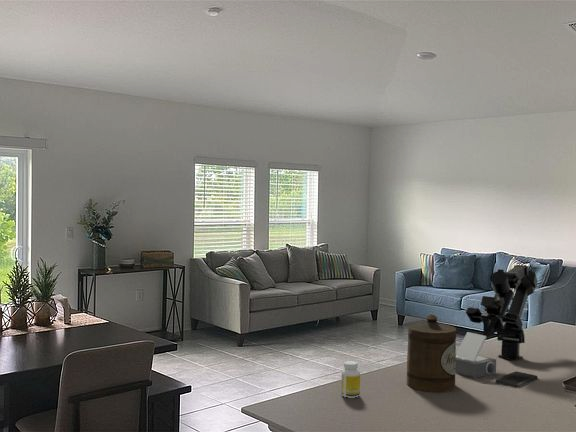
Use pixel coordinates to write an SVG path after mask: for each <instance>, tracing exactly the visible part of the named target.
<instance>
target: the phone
mask: <svg viewBox="0 0 576 432" xmlns="http://www.w3.org/2000/svg"><path fill="white" fill-rule="evenodd" d="M538 378H539V377H538V375H536V374H530V373H526V372H522V371H513V372H510V373H507V374H506V375H504V376H501V377H499V378H496V379H495V384H499V385H504V386H507V387H513V388H520V387H523V386H525V385H527V384H530V383H531V382H532V383H533V382H534V381H536V380H538Z"/></svg>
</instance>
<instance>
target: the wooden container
mask: <svg viewBox="0 0 576 432" xmlns="http://www.w3.org/2000/svg"><path fill="white" fill-rule="evenodd" d="M407 333H408V334H407V336H408V337H407V355H406V385H407V386H408V387H410V388H412V389H414V388H415V390H417V391H423V392H429V393H440V392H441V393H443V392H449V391H452V390H454V389H455V388H456V374H457V373H456V353H457V351H456V350H457V328H456V327H455V326H453V325H449V324H445V323H438V317H437V316H436V315H435V314H429V315H428V316H426V322H418V323H417V322H416V323H411V324H409V325H408V329H407Z"/></svg>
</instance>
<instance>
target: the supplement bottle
mask: <svg viewBox="0 0 576 432" xmlns="http://www.w3.org/2000/svg"><path fill="white" fill-rule="evenodd" d="M358 367H359V363H358V362H357V361H355V360H354V361H353V360H352V361H351V360H347V361H345V362H344V363H343V368H344V369H342V371H341V383H340V384H341V386H340V388H341V390H340V391H341V396H342V397H343V396H344V397H343V398H346V397H348V398H347V399H356V398H355V397H357V398H359V397H360V396H361V394H360V393H361V391H360V390H361V371H360V370H359V368H358ZM359 395H360V396H359ZM358 396H359V397H358Z"/></svg>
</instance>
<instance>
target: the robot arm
mask: <svg viewBox="0 0 576 432" xmlns="http://www.w3.org/2000/svg"><path fill="white" fill-rule="evenodd" d="M489 282H490V284H491V288H492V291H493V292H494V293H495V294H494V295H493V296H488V295H487V296H486V295H483V296H482V297H481V302H480V306H483V307H484V309H483V310H484V311H481V310H480V308H479V307H473V306H472V307H471V306H469V307H467V309H466V311H465V314H466V316H467V317H468V319H469V321H470V322H471V323H476V324H480V323H482V324H483V325H482V326H483V330H482V332H483V333H482V335H484V336H486V337H487V338H486V340H487V339H489V338H490V337H491V336H493V334H495V333H496V338H497V339H496V340H497V341H501V353H500V354H498V355H497V357H498V358H501V359H502V358H503V359H507V360H510V361H515V360H520V359H521V360H522V359H523V358H524V356H522V355H520V344H524V343H525V342H526V341H525V340H526V339H525V338H526V337H525V332H524V329H523V325H524V324H523V322H522V320H521V318H522V315H523V311H524V308H525V305H526V303H527V300H528V297H529V296H531V295H533V294H534V293H535V290H536V288H537V287H538V277H537V275H536V273H535V272H533V271H532V270H531V269H530V267H529V266H528V265H525V264H523V265H522V264H515V265H514V266H513V267H512V268H511V269H509V270H508V271H505V270H504V269H499V268H498V269H497V271H495V272H492V274H491V275H490V276H489ZM513 290H514V291H515V292H514V291H513Z"/></svg>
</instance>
